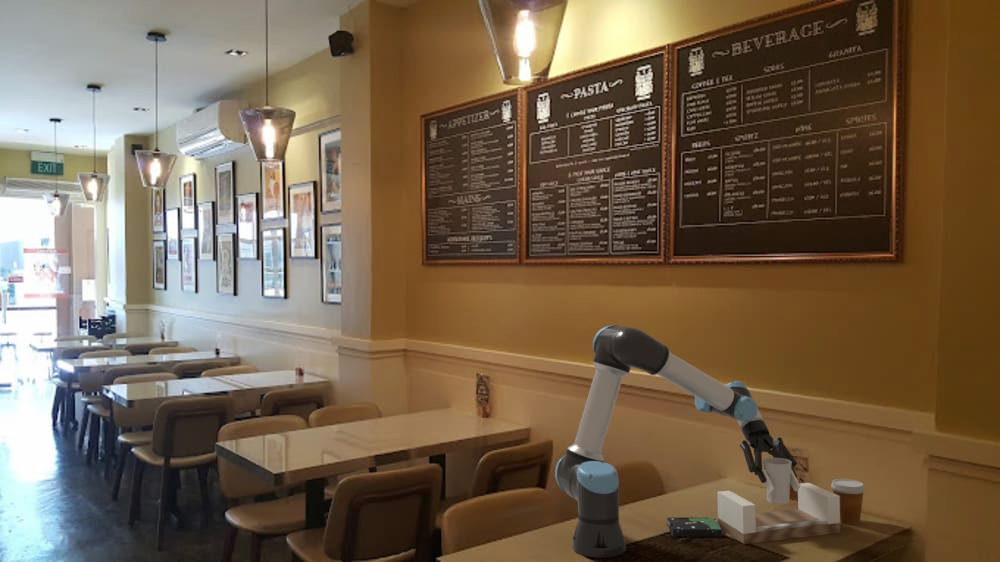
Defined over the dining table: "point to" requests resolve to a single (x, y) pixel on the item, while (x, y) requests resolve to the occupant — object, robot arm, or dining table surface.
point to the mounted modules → (809, 501)
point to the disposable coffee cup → (849, 499)
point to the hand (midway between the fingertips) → (784, 490)
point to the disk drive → (694, 527)
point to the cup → (778, 479)
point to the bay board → (782, 527)
